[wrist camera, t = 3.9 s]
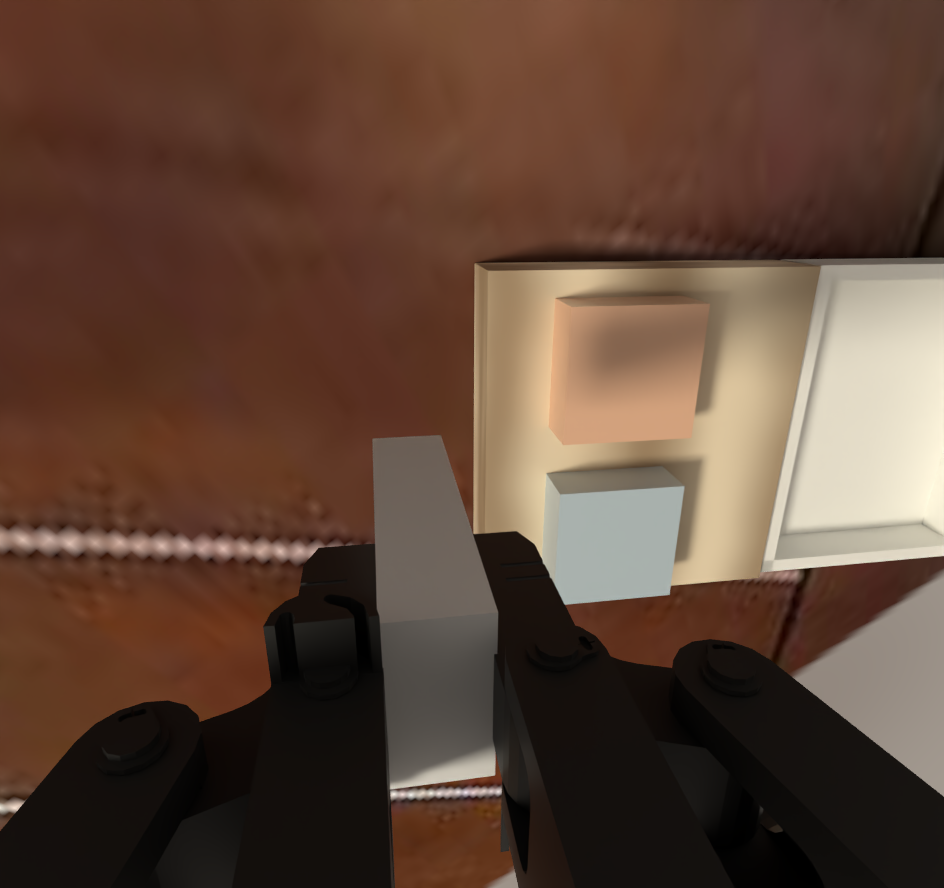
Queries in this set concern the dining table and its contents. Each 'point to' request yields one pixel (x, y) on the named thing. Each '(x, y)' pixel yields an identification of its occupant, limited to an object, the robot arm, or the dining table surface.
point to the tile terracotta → (626, 368)
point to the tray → (865, 420)
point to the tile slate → (611, 532)
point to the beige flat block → (689, 460)
